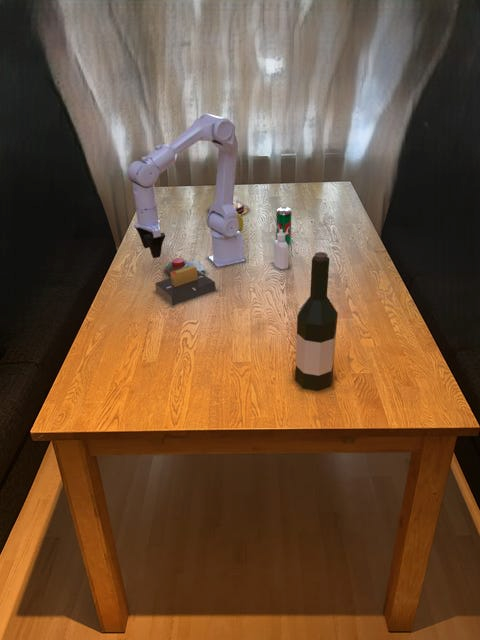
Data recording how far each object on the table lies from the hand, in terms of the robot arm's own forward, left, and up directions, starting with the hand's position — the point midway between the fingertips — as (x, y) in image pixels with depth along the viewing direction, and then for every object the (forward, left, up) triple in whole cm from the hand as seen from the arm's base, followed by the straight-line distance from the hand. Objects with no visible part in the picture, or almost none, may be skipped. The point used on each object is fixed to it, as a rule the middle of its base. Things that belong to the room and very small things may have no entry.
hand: (152, 252), depth 152 cm
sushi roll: (-43, -46, -10) cm, 64 cm away
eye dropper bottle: (-38, +7, -10) cm, 40 cm away
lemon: (-36, -23, -10) cm, 44 cm away
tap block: (-6, +9, -10) cm, 15 cm away
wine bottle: (-18, +60, -10) cm, 63 cm away
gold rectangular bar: (-6, +9, -7) cm, 13 cm away
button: (-8, -3, -8) cm, 12 cm away
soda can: (-47, -8, -10) cm, 49 cm away
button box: (-10, -3, -10) cm, 15 cm away
